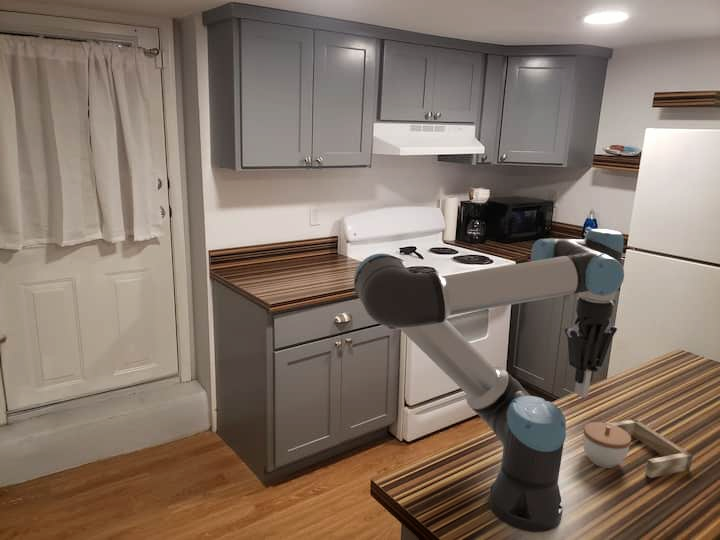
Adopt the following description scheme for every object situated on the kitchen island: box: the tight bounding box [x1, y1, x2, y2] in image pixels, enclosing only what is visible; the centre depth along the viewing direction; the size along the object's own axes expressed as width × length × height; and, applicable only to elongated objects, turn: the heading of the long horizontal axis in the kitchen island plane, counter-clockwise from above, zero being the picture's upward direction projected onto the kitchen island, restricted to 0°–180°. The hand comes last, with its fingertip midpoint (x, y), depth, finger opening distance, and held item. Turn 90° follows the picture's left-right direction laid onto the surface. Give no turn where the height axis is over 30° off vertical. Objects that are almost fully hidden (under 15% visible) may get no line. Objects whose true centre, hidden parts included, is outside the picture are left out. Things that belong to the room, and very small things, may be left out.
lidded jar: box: [582, 421, 632, 469], centre depth 139 cm, size 11×11×9 cm
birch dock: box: [607, 418, 693, 479], centre depth 143 cm, size 12×18×4 cm
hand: (581, 394), depth 132 cm, fingers closed
